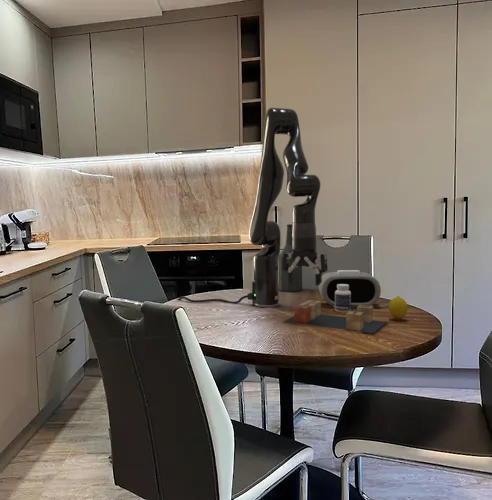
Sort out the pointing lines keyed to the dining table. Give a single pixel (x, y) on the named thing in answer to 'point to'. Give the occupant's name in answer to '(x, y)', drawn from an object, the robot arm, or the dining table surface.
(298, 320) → the red block
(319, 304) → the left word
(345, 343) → the dining table surface
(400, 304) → the lemon
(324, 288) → the alarm clock
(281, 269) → the bottle
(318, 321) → the word mat
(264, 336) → the dining table surface
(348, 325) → the letter block row
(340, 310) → the pill bottle
